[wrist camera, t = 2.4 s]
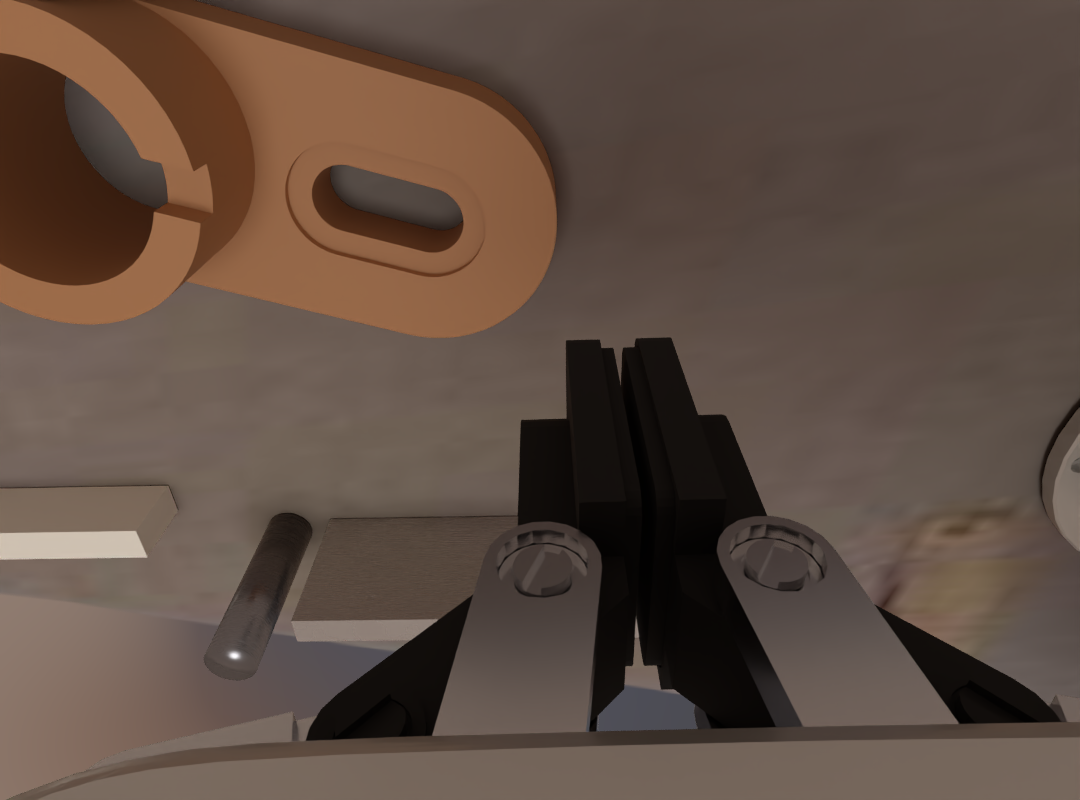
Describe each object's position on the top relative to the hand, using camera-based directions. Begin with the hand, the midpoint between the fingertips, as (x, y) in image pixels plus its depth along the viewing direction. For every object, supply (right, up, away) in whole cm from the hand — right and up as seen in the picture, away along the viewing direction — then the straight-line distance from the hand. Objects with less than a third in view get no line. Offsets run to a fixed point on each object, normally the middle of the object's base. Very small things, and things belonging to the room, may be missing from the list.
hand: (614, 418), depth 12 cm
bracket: (-9, +9, +13) cm, 19 cm away
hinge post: (-13, -6, +22) cm, 26 cm away
